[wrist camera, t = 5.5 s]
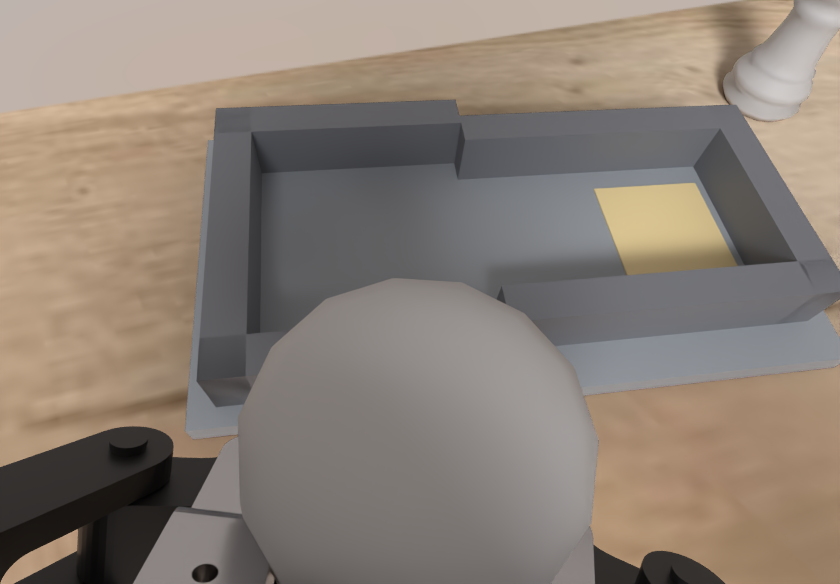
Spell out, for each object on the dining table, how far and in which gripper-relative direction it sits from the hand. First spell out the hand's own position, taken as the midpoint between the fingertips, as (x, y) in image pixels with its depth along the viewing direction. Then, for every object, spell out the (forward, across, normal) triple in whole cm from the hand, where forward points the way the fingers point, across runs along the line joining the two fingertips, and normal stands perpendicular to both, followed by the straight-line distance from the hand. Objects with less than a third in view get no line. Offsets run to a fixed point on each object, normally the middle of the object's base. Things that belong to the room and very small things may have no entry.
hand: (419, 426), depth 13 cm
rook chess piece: (+24, -15, -13) cm, 31 cm away
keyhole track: (+13, -2, -2) cm, 14 cm away
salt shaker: (+3, 0, +6) cm, 6 cm away
